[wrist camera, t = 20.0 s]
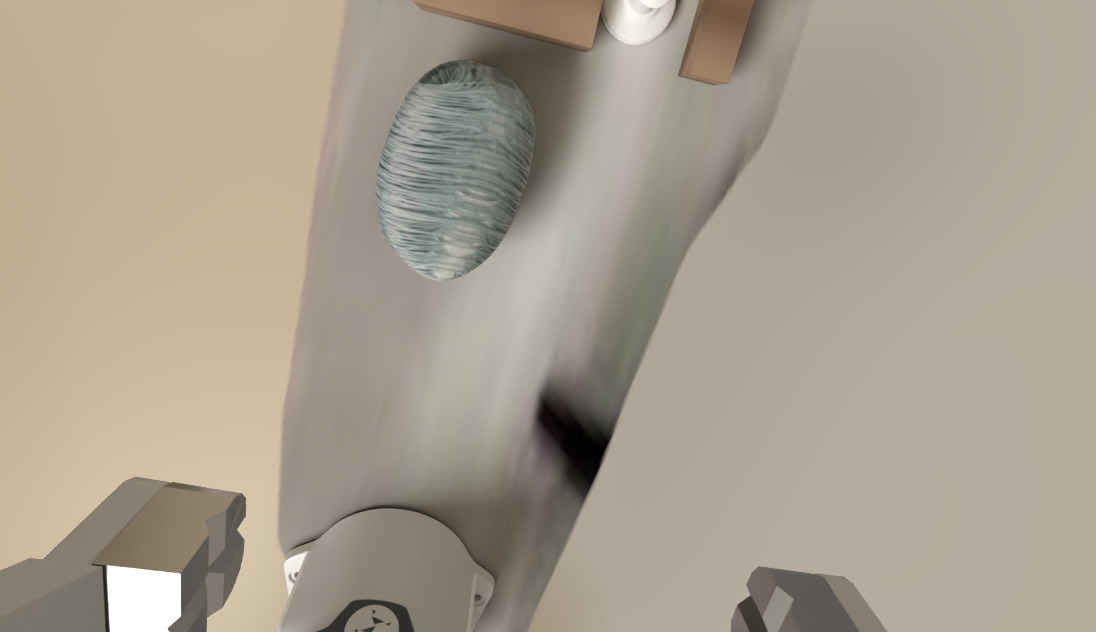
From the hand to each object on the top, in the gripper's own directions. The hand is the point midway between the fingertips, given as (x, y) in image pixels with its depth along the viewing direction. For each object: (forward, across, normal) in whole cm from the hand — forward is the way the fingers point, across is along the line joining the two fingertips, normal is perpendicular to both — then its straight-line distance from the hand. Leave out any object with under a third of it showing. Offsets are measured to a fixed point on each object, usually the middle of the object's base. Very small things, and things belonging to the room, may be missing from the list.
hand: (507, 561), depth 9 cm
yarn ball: (+34, +4, -2) cm, 35 cm away
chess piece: (+34, -5, -14) cm, 38 cm away
